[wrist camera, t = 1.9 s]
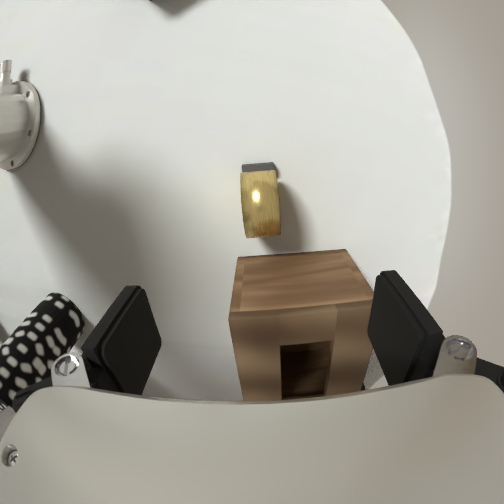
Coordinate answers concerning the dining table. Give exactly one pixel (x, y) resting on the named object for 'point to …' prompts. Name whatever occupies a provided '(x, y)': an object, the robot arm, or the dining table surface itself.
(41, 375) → the white-spotted black cylinder
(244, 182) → the cylinder
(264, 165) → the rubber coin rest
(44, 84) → the dining table surface
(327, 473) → the robot arm
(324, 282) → the box
